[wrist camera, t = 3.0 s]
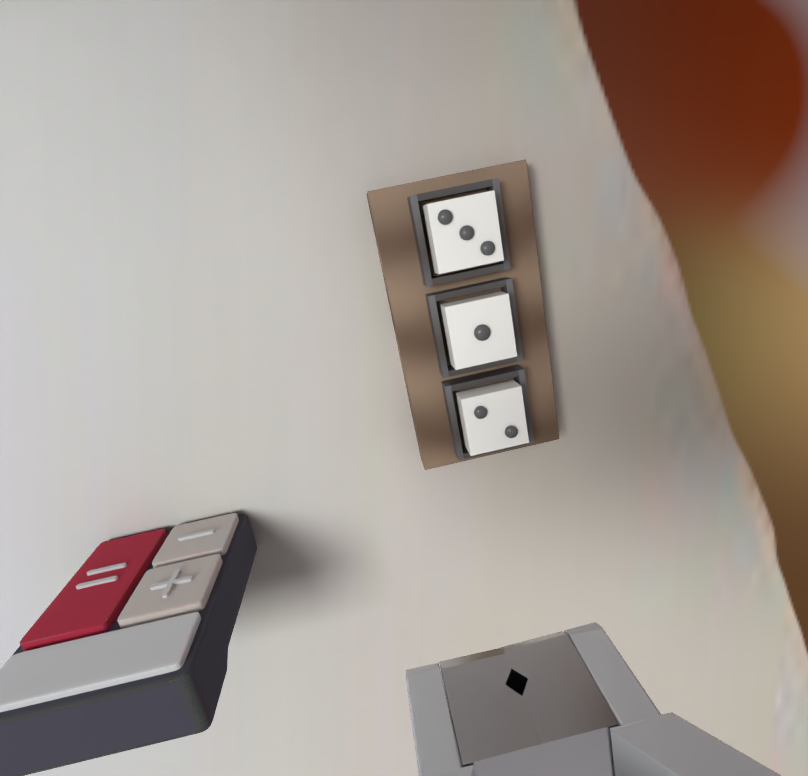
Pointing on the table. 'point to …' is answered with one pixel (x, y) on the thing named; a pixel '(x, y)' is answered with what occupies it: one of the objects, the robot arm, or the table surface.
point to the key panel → (425, 290)
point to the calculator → (127, 647)
